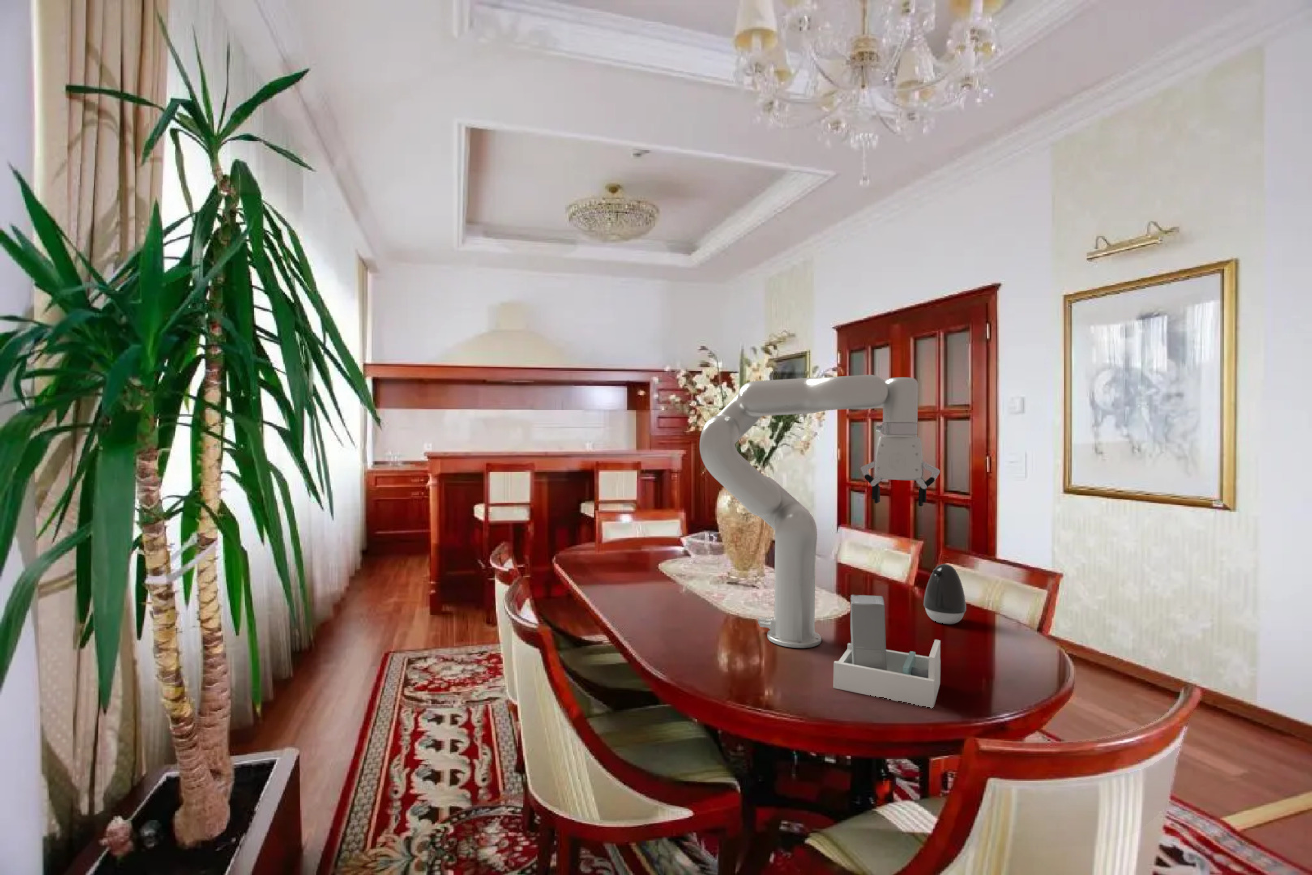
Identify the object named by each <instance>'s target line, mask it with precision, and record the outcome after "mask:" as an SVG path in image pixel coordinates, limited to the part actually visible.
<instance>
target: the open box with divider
mask: <svg viewBox="0 0 1312 875" xmlns="http://www.w3.org/2000/svg"><path fill="white" fill-rule="evenodd" d="M933 641H934V642H933V644H932V647H931V650H930V653H929V656H927V655H920V654H915V667H916V668H921V669H927V670H929V671H928V678H923V677H918V676H913V675H907V674H903V666H904V664H905V661H906V659H907V657H908V655H909V653H910V652H903V651H897V650H892V649H886V660H887V671H886V670H881V669H875V668H870V667H865V666H859V665H854V664H852V647H851V642H848V643H847V649H846V650H845V651H844V653H843V654H842V656H841V657H840V658H839V660H834V661H833V676H832V677H833V678H832V679H833V683H832V684H833V685H832V686H833V689H837V690H841V691H846V692H850V693H851V692H852V693H856V694H861V695H866V696H870V695H871V696H870V697H875V696H876V697H875V698H879V697H884V698H887V699H886V700H889V699H891V700H890V701H895V702H898V701H902V702H901V703H903V702H907V703H906V704H908V703H911V704H910V705H913V704H915V705H914V706H918V705H919V706H918V707H922V706H926V707H925V708H927V707H930V708H929V709H932V708H933V707H934V708H935V704H936V700H937V696H938V693H939V690H940V687H941V686H940V685H941V640H939V639H934V640H933ZM884 698H883V699H884ZM934 708H933V709H934Z"/></svg>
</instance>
